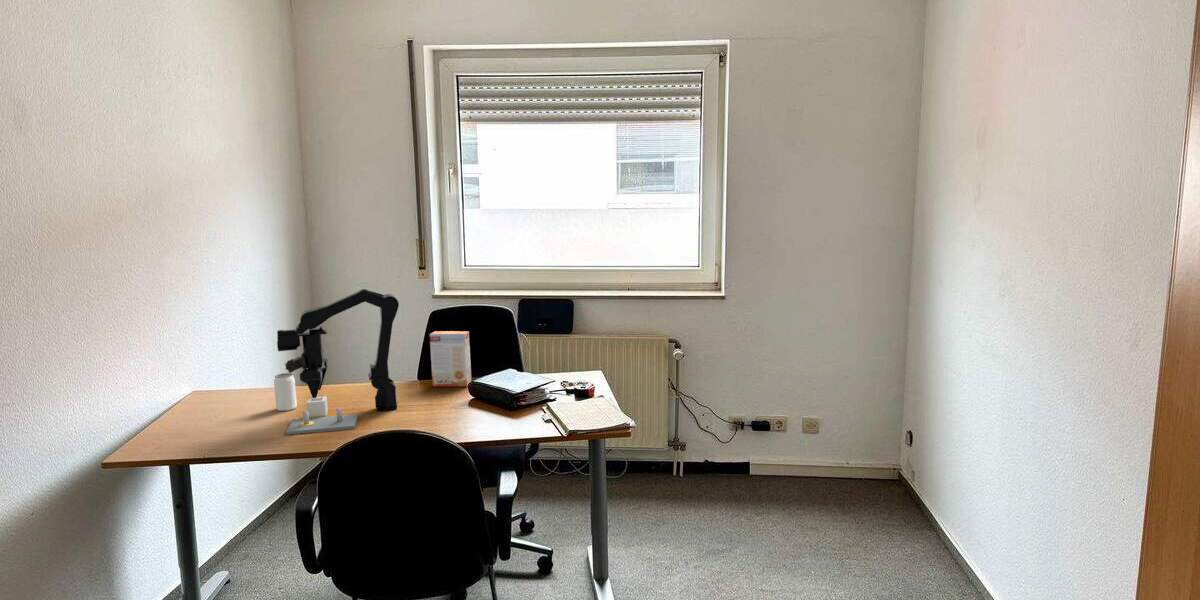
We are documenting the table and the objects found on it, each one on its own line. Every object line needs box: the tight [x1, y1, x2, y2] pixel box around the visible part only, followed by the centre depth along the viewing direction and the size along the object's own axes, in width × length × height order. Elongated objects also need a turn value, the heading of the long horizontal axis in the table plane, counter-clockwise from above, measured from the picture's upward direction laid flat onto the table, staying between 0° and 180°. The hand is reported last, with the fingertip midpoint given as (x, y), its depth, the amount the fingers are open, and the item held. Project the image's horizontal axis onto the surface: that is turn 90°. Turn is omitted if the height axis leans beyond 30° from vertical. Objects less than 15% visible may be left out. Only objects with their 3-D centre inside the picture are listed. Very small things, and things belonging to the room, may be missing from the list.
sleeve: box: [305, 396, 329, 418], centre depth 223 cm, size 6×6×6 cm
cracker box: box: [429, 330, 472, 388], centre depth 258 cm, size 14×6×21 cm, turn 83°
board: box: [285, 407, 359, 436], centre depth 215 cm, size 20×12×5 cm, turn 105°
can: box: [273, 372, 298, 412], centre depth 232 cm, size 6×6×12 cm
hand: (316, 393), depth 223 cm, fingers open, 9 cm apart
